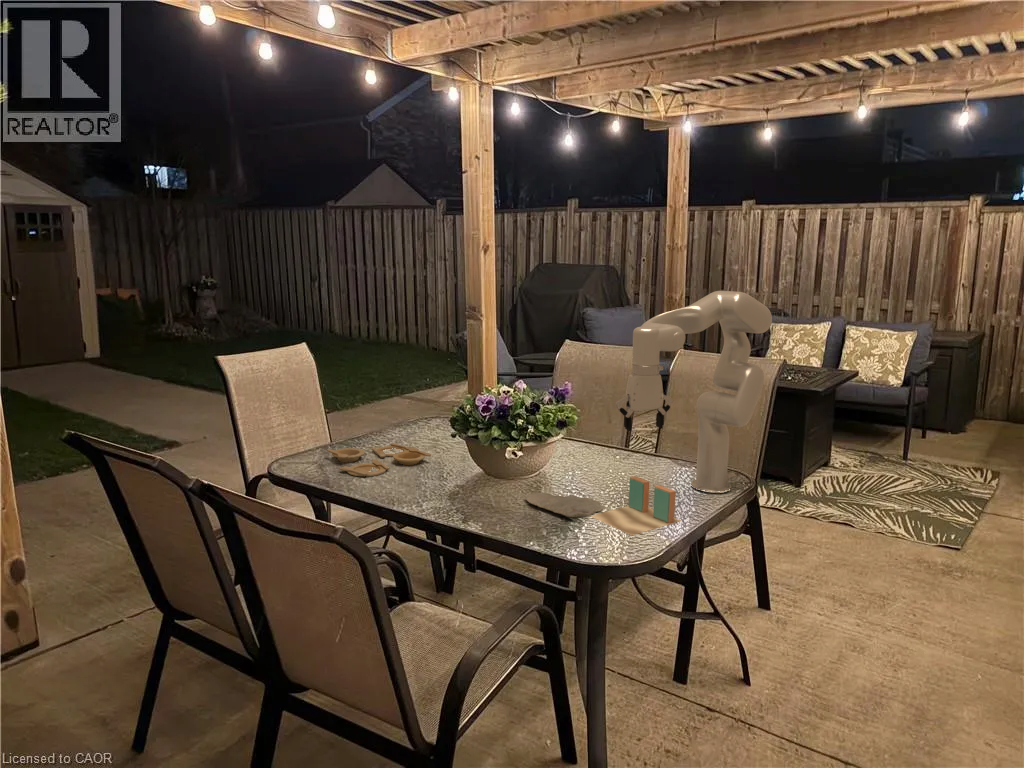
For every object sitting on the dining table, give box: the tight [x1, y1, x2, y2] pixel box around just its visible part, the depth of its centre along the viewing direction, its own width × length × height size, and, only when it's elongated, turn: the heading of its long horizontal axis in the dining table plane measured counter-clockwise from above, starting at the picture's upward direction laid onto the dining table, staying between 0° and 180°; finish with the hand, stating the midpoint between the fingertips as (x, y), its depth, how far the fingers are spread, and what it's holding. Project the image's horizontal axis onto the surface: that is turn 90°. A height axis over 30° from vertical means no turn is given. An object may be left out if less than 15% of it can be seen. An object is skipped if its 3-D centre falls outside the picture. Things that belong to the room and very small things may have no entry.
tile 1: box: [628, 475, 651, 513], centre depth 208 cm, size 2×6×9 cm, turn 34°
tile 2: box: [653, 485, 676, 523], centre depth 200 cm, size 2×6×9 cm, turn 34°
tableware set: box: [326, 442, 432, 477], centre depth 258 cm, size 35×29×4 cm
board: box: [590, 505, 682, 536], centre depth 202 cm, size 19×17×1 cm
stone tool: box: [524, 492, 607, 518], centre depth 213 cm, size 20×3×25 cm
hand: (643, 428), depth 207 cm, fingers open, 9 cm apart
